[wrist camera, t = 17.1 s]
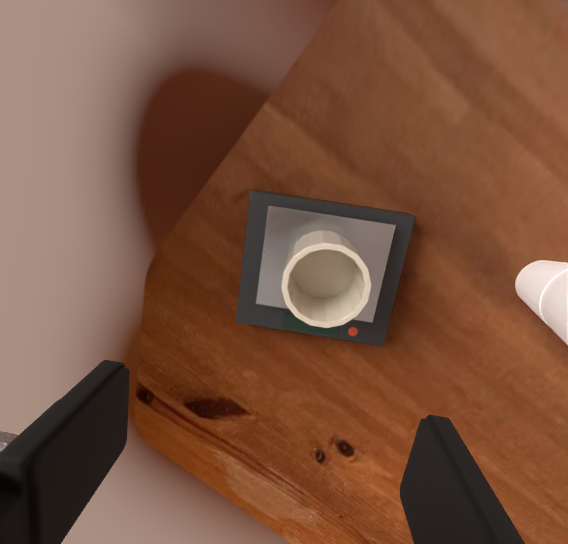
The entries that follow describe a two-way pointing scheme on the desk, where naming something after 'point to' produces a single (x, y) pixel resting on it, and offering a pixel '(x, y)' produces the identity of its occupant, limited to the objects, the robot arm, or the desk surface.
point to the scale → (284, 317)
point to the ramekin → (325, 280)
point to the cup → (546, 293)
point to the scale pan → (297, 223)
